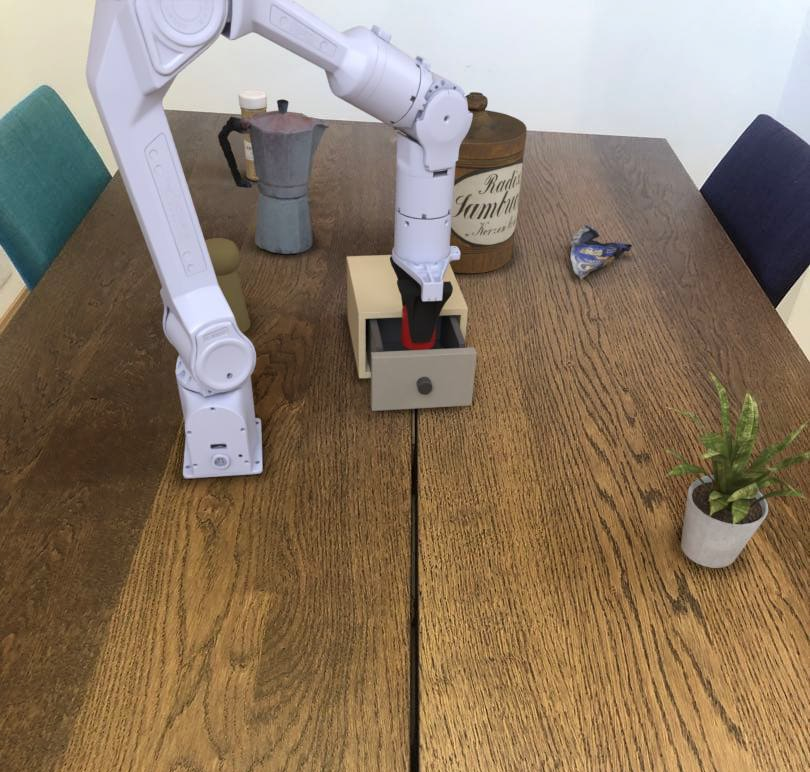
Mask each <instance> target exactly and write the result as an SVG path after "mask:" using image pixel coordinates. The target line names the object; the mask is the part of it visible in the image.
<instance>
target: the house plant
mask: <svg viewBox="0 0 810 772" xmlns="http://www.w3.org/2000/svg"><path fill="white" fill-rule="evenodd" d="M707 372H708V374H709V375H710V377H711V379H712V381H713V382H714V385H715V388H716V390H717V393H718V397H719V403H720V421H721V428H722V431H723V432H722V433H723V436H722V434H720V433H719V432H713V431H712V432H708V430H707V428H706V426H705V425H704V423H702V422H701V421H700V420H699V419H698V417H697V416H696V415H694V414H692V413H690V412H688V411H685V410H682V409H678V408H674V407H667V406H666V407H665V406H664V409H668V410H671V411H674V412H676V413H677V414H679V415H680V414H681V415H683V416H685V417H688V418H689V419H691V420H693V421H694V423H696V424H697V426H698V427H699V428H700V430H701V432H702V434H701V435H699V437H698V438H699V441H700V442H701V445H703V446H704V447H705V449H706V450H707V451H706V452H704V453H703V454H702V455H701V457H700V459H699V461H703V462H706V461H708V460H710V461H711V466H712V473H713V474H712V475H711V474H709V473H708V472H707V471H706V470H705V469H704V468H703V467H701V466H698V465H696V464H692V463H689V462H688V461H687V460H686V459H685V458H684V456H682V454H680V453H678V452H676V451H674V450H670V449H667V448H659V447H658V449H659V450H662V451H663V452H667V453H668V454H671V455H673V456H675V457H676V458H678V459H679V460H680V461H681V462H683V463H679V464H678V465H675V466H674V467H673V468H671V469H670V471H669V472H668V473H667V474H666V475H665V476H664V477H663V478H667V477H668V476H669V477H670V476H671V477H672V476H673V477H676V476H677V477H678V476H686V475H687V476H688V475H694V477H696V480H694V481H693V482H691V483H690V485H689V486H688V490H687V496H686V502H685V509H684V516H683V525H682V532H681V539H680V547H681V550H682V552H683V553H684V555H685V556H686V557H687V558H688V559H689V560H690V561H692V562H694V563H696V564H698V565H700V566H702V567H706V568H711V569H720V568H721V569H722V568H726V567H728V566H731V565H732V564H733V563H734V562H735V561H736V560H737V558H738V557H739V555H740V554H741V552H742V551H743V550H744V548H745V547H746V546H747V545H748V542H749V541H750V540H751V539H752V537H753V536H754V535H755V533H756V531H757V530H758V529H759V527H760V526H761V525H762V523H763V522H764V521H765V519H767V515H768V514H769V504H768V501H767V499H768V498H773V497H783V496H787V497H790V496H791V497H799V498H801V499H804V500H805V501H807V498H806V497H805V495H804V494H803V493H802V491H801V490H798V489H794V488H793V486H791V485H790V484H789V483H787V482H786V481H784V480H781V479H780V478H778V477H773V476H770V475H772V474H773V473H775V475H777V474H778V471H780V470H782V469H785V468H788V467H790V466H791V467H792V466H794V465H797V464H802V463H804V462H806V461H807V460H810V451H805V452H802V453H799V454H796V455H793V456H789V457H787V458H784V459H782V460H780V461H779V462H777V463H776V464H775V465H773V466H772V467H766V466H767V465H768V464H769V463H770V462H771V461H772V460H773V459H774V458H775V457H776V456H778V455H779V454H781V453H782V452H783V451H784V450H785V449H786V448H788V447H789V445H790V444H791V443H793V441H794V440H795V439H796V438H797V436H799V434H800V433H801V432H802V431H803V429H804V428H805V427H806V426H807V424H808V423H809V422H810V418H809V419H808V420H807V421H805V422H803V423H802V424H801V425H800V426H798V428H796V429H795V430H793V431H791V433H788V435H787V436H786V437H785V438H784V439H783V440H782V441H781V442H780V443H772V444H769V445H767V446H766V447H765V448H764V449H763V450H762V451H761V452H760V453H759V454H758V455H757V457H756V458H755V459H754V460H753V462H752V463H751V464H750V466H749V467H748V469H747V470H746V471H745V469H746V467H747V465H748V463H749V460H750V459H751V456H752V453H753V450H754V446H755V441H756V440H757V439H760V438H767V436H766V435H765V436H764V435H763V436H759V437H757V435H758V433H759V431H760V430H761V429H762V428H763V426H764V425H765V424H766V423H767V422H768V421H769V420H770V419H771V418H772V417H773V416H775V415H776V414H778V413H779V412H781V411H782V409H779V410H777V411H776V412H774V413H772V415H771V416H769V417H768V418H767V420H765V422H764V423H763V424H762V426H761V427H760V428H759V424H760V413H759V406H758V402H757V401H756V398H755V395H754V394H752V396H751V394H750V391H749V389H746V394H745V397H744V401H743V404H742V407H741V408H742V409H741V412H740V415H739V418H738V421H737V424H736V427H735V432H734V439H732V438H733V437H732V429H731V412H730V410H731V409H730V402H729V397H728V393H727V391H726V389H725V388H724V386H723V385H722V383H721V382H720V381H719V379H718V378H717V377H716V376H715V374H713V373H712V372H710V371H709V370H707ZM702 428H703V429H704V430H705V432H706V433H705V432H704V430H703V429H702ZM744 471H745V472H744ZM699 474H704V475H705V476H702V477H701V476H700V475H699ZM772 485H783V486H785V487H788V488H782V489H781V488H780V489H778V490H777V489H776V490H774V491H770V492H768V493H766V494H764V495H763V494H762V493H761V491H760V490H762V489H765V488H766V487H769V486H772ZM766 498H767V499H766Z"/></svg>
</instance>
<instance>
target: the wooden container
mask: <svg viewBox="0 0 810 772" xmlns="http://www.w3.org/2000/svg"><path fill="white" fill-rule="evenodd" d="M464 97H466V98H467V103H468V111H470V113H472V114H473V117H472V122H471V126H470V128H469V131H468V133H467V135H466V136H465V138H464V139H463V141H462V142H461V145H460V148H459V155H458V161H456V165H455V179H454V193H453V207H452V219H451V234H450V246H457V247H458V248H459V250H460V259H459V260H452V261H450V266H451V268H452V271H453V273H454V274H467V275H469V274H479V273H480V274H483V273H488V272H491V271H495V270H497V269H501V268H502V267H504V266H506V265H507V264H508V263H509V262H510V261H511V258H512V254H513V249H514V241H515V234H516V228H517V227H516V226H517V222H518V221H517V219H518V214H519V213H518V212H519V205H520V196H521V195H520V194H521V184H522V175H523V165H524V156H525V147H526V141H527V133H528V132H527V130H528V129H527V126H526V124H525V123H524V122H523V121H522V120H520V119H519V118H517V117H514V116H511V115H509V114H506V113H503V112H498V111H495V110H489V109H487V108H488V103H489V101H488V97H487V96H485V95H484V94H483V93H482V92H477V91H471V92H469V94H467V95H464Z"/></svg>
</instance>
